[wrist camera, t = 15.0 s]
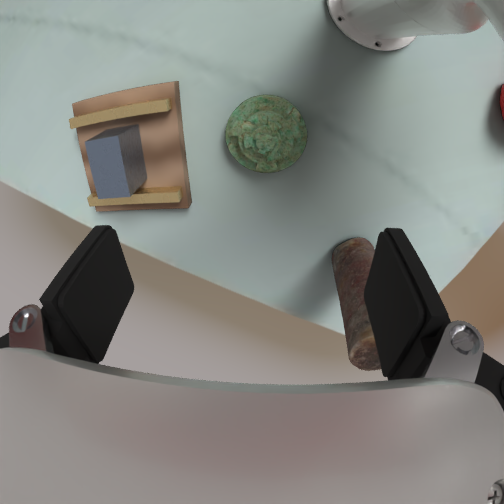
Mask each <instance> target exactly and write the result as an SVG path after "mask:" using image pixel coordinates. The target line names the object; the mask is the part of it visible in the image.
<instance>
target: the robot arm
mask: <svg viewBox="0 0 504 504" xmlns="http://www.w3.org/2000/svg"><path fill="white" fill-rule="evenodd" d="M327 6H328V10H329V13H330V15H331V17H332V19H333V21H334V22H335V24H336V25H337V27H338V28H339V29H340V30H341V31H342V32H343V33H344V34H345V35H346V36H347V37H349V38H350V39H351V40H353V41H354V42H356V43H358V44H360V45H362V46H364V47H367V48H370V49H374V50H381V51H391V50H397V49H401V48H403V47H405V46H407V45H409V44H410V43H411V42H412V41H414V39H415V38H416V37H417V36H425V35H443V34H465V33H470V32H473V31H475V30H477V29H479V28H480V27H481V26H483V25H484V24H485V23H486V22H487V21H488V19H489V20H490V22H491V23H492V25H493V26H494V28H495V29H496V31H497V33H498V34H499V36H500V37H501V38H502V39H503V41H504V0H327ZM338 18H341V21H339V20H338ZM375 43H377V44H378V45H377V46H376V45H375ZM133 292H134V284H133V281H132V278H131V275H130V272H129V269H128V267H127V264H126V261H125V258H124V255H123V252H122V248H121V245H120V242H119V239H118V236H117V233H116V231H115V230H114V229H112V227H111V226H109V225H100V226H95V227H94V228H93V229H92V231H91V232H90V233H89V234H88V235H87V237H86V238H85V239H84V240H83V241H82V243H81V244H80V245H79V246H78V248H77V249H76V250H75V251H74V253H73V254H72V255H71V256H70V258H69V259H68V260H67V262H66V263H65V264H64V266H63V267H62V268H61V270H60V271H59V272H58V274H57V275H56V276H55V278H54V279H53V281H52V282H51V284H50V285H49V286H48V288H47V289H46V291H45V292H44V293H43V295H42V296H41V298H40V299H39V300H40V302H41V303H42V305H43V307H42V309H40V308H39V307H38V306H37V305H34V304H31V305H27V306H24V307H22V308H21V309H19V310H18V311H17V312H16V313H15V314H14V316H13V317H12V319H11V321H10V325H9V333H7V334H6V335H4V336H2V337H0V504H504V365H502V364H501V363H499V362H497V361H496V360H494V359H493V358H491V357H490V356H488V355H487V354H485V353H484V352H483V350H484V342H483V338H482V336H481V334H480V333H479V331H478V330H477V329H476V328H475V327H474V326H472V325H471V324H470V323H467V322H465V321H453V322H451V321H450V319H449V317H448V313H447V311H446V309H445V306H444V304H443V302H442V300H441V298H440V296H439V294H438V292H437V290H436V288H435V286H434V284H433V282H432V280H431V279H430V277H429V275H428V273H427V271H426V269H425V267H424V266H423V264H422V262H421V260H420V258H419V257H418V255H417V253H416V251H415V250H414V248H413V246H412V245H411V243H410V241H409V239H408V238H407V236H406V235H405V233H404V231H403V230H402V229H400V228H386V229H385V230H384V232H380V234H379V236H378V241H377V245H376V249H375V253H374V256H373V260H372V264H371V268H370V271H369V275H368V278H367V282H366V285H365V289H364V301H365V305H366V308H367V312H368V316H369V319H370V323H371V327H372V331H373V335H374V339H375V343H376V347H377V351H378V356H379V360H380V365H381V369H382V373H383V376H384V377H388V381H376V382H362V383H342V384H315V385H277V384H276V385H275V384H248V383H230V382H217V381H206V380H195V379H187V378H178V377H170V376H163V375H156V374H149V373H143V372H137V371H131V370H126V369H120V368H115V367H110V366H105V365H100V364H99V362H100V361H102V360H103V359H104V356H105V354H106V351H107V349H108V347H109V344H110V342H111V340H112V338H113V335H114V333H115V331H116V329H117V326H118V324H119V322H120V320H121V317H122V316H123V313H124V311H125V309H126V307H127V305H128V303H129V300H130V298H131V296H132V294H133Z"/></svg>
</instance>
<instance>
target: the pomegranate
mask: <svg viewBox="0 0 504 504" xmlns="http://www.w3.org/2000/svg"><path fill="white" fill-rule="evenodd" d="M500 106H501V111H502V116H503V119H504V84H503V85H502V88H501V95H500Z"/></svg>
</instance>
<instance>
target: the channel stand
mask: <svg viewBox="0 0 504 504" xmlns="http://www.w3.org/2000/svg"><path fill="white" fill-rule="evenodd" d="M72 106H73V112H74V117H73V118H71V119H69V122H70V128H71V129H73V128H76V129H77V135H78V140H79V145H80V149H81V154H82V158H83V163H84V167H85V171H86V175H87V179H88V183H89V187H90V190H91V195H90V196H89V197H88V198H87V199H88V202H89V206H95V208H96V211H117V210H141V209H176V208H189V206H190V205H191V203H192V199H191V192H190V184H189V177H188V169H187V161H186V152H185V143H184V134H183V124H182V114H181V104H180V92H179V81H174V82H167V83H160V84H154V85H148V86H143V87H137V88H132V89H127V90H123V91H118V92H114V93H109V94H105V95H101V96H97V97H93V98H90V99H86V100H82V101H79V102H76V103H73V104H72ZM134 124H139V129H140V136H141V143H142V149H143V155H144V161H145V166H146V172H147V177H148V178H147V179H146V180H145V181H144V183H143V184H142V185H141V186H140V187H139V188H138V189H137V190H136V191H135V192H134V194H133V195H132V196H131V197H122V198H107V199H98V196H97V192H96V188H95V185H94V181H93V177H92V173H91V169H90V164H89V160H88V156H87V151H86V146H85V141H87V140H89V139H90V138H92V137H94V136H96V135H98V134H99V133H101V132H103V131H105V130H107V129H111V128H116V127H122V126H128V125H134Z"/></svg>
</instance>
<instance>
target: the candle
mask: <svg viewBox="0 0 504 504" xmlns="http://www.w3.org/2000/svg"><path fill="white" fill-rule="evenodd" d="M374 253H375V250H374V247H373V245H372V244H371V243H370V242H369V241H368V240H366V239H365V238H360V237H357V238H352V239H350V240H348V241H346V242H344V243H342V244H341V245H339V246H337V247H336V248H335V250H334V252H333V254H332V265H333V271H334V276H335V281H336V286H337V291H338V295H339V300H340V306H341V312H342V317H343V323H344V329H345V335H346V341H347V348H348V356H349V360H350V362H351V363H352V364H353V365H354V366H356V367H358V368H359V369H361V370H367V371H370V370H378V369H381V365H380V360H379V356H378V351H377V347H376V343H375V339H374V335H373V331H372V327H371V323H370V319H369V316H368V312H367V308H366V305H365V301H364V289H365V285H366V282H367V278H368V275H369V271H370V268H371V264H372V260H373V256H374Z"/></svg>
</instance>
